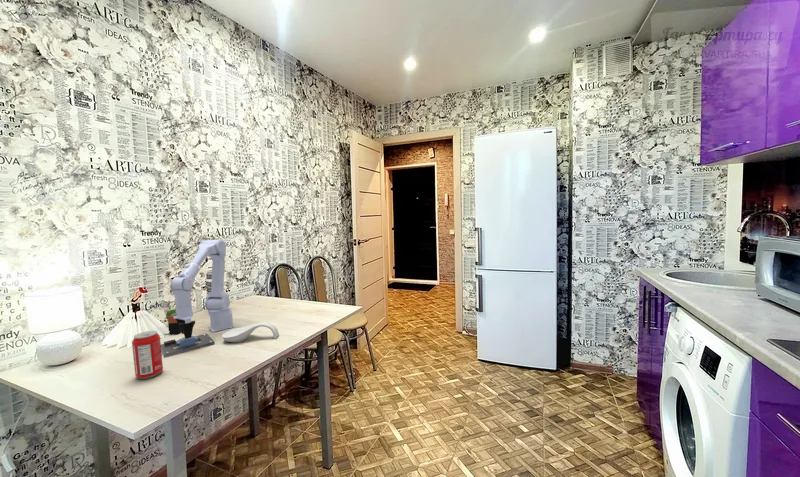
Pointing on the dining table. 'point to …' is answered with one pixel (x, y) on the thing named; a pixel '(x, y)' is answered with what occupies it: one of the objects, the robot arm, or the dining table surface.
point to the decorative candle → (209, 283)
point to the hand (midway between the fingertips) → (186, 335)
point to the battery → (173, 324)
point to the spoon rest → (247, 332)
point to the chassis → (169, 350)
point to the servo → (186, 341)
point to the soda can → (147, 354)
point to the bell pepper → (170, 312)
